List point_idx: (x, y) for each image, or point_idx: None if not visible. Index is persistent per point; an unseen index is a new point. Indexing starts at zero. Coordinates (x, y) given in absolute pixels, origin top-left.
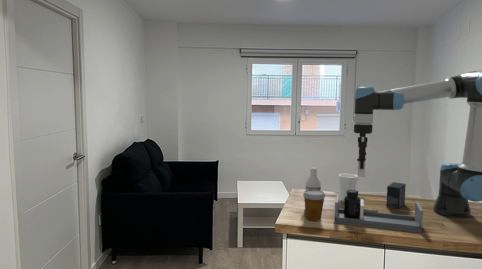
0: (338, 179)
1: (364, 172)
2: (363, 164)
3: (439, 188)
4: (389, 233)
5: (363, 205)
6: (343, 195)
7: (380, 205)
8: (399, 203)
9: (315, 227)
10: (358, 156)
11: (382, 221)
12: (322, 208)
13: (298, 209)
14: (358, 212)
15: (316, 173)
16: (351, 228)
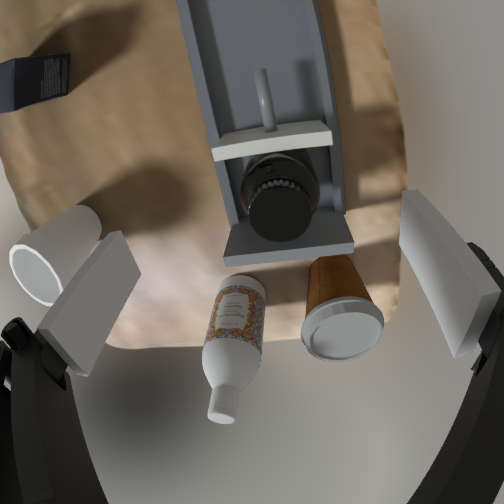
0: None
1: (435, 212)
2: (501, 277)
3: None
4: (367, 28)
5: (322, 132)
6: (93, 242)
7: (65, 115)
8: (56, 53)
9: (400, 251)
10: (92, 366)
11: (266, 52)
12: (335, 273)
13: None
14: None
15: (226, 394)
16: (376, 151)
